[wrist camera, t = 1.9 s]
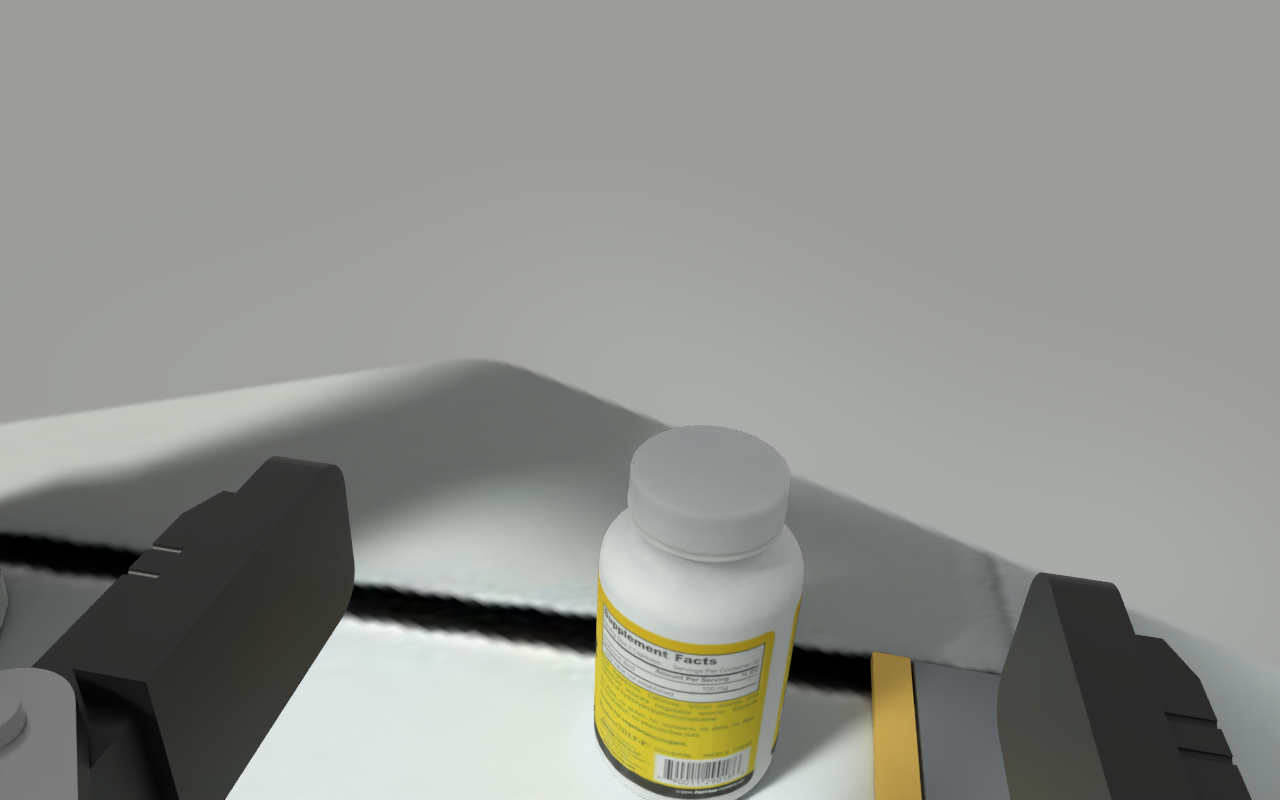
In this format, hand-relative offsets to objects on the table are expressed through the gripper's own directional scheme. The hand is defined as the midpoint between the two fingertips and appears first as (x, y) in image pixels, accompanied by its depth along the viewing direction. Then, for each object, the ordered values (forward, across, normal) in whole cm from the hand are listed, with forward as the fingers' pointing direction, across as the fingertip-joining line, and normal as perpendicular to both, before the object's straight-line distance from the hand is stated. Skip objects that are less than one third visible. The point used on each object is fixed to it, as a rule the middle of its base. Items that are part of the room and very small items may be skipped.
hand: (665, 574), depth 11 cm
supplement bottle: (+11, 0, +16) cm, 20 cm away
